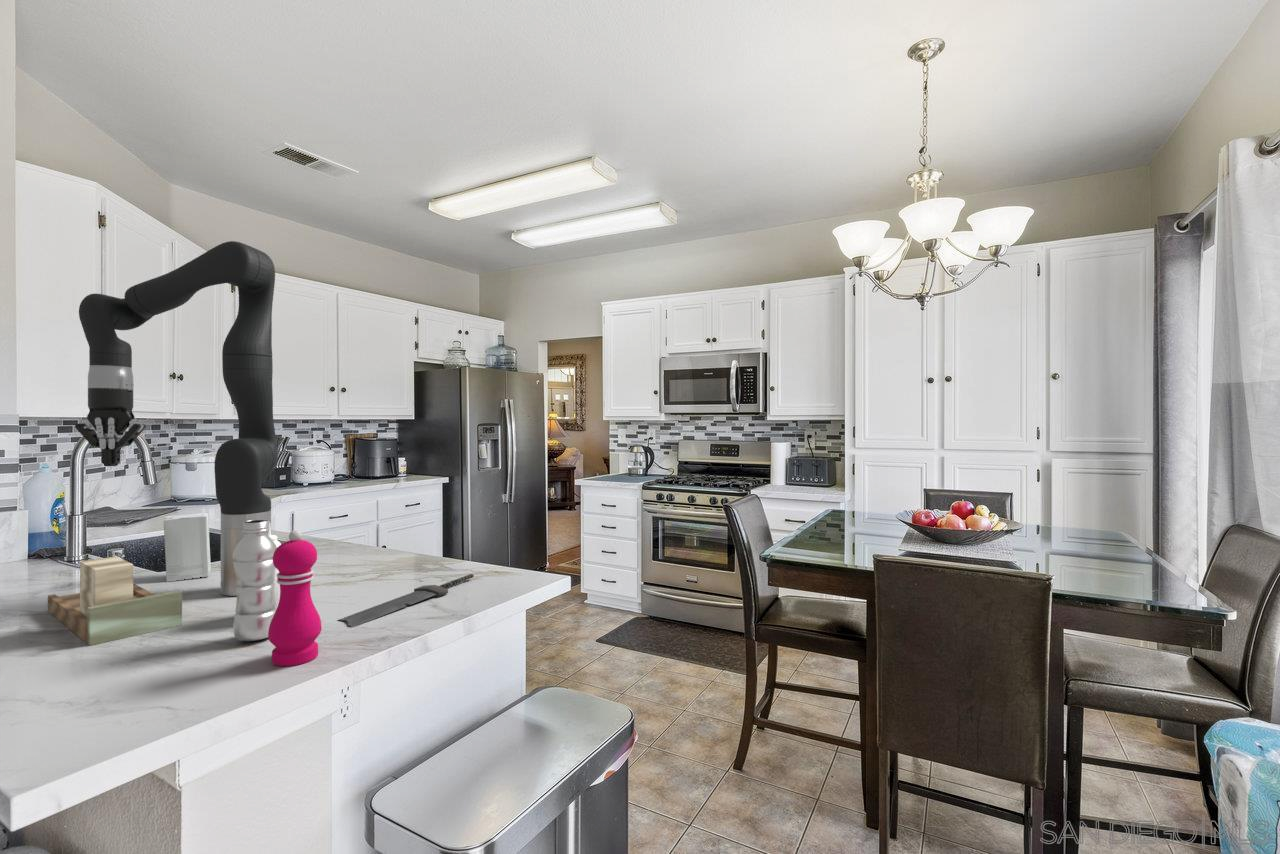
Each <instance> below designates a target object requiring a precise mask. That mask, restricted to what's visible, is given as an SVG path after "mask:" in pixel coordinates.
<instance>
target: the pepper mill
mask: <svg viewBox="0 0 1280 854" xmlns="http://www.w3.org/2000/svg"><path fill="white" fill-rule="evenodd" d="M302 537H303V533H302V532H301V531H300V530H297V529H294V530H292V531H290V532H289V534H288V539H289V540H288V541H285V542H282V544H281V545H280V546H278V547H277V549H276V550H275V552H274V554H273V564H274V566H275V568H276V569H277V570H278V571H279V573H278V574H277V577H278V578H277V581H276V582H277V583H278V584H280V600H279V604H278V607H277V610H276V612H275V614H274V616H273V618H272V620H271V623H270V626H269V632H268V637H267V638H268V640H269V642H270V644H272V645H273V646H274V648H273V649H272V651H271V663H272V665H274V666H278V667H293V666H299V665H303V664H306V663H309V662H311V661H313V660H314V659H316V658H317V657H318V656H319V642H317V641H315V640H317V638H318V637H319V636H320V634H321V632H322V629H323V628H322V621H321V617H320V614H319V612H318V610H317V608H316V606H315V604H314V602H313V600H312V595H311V584H312V583H311V581H312V580H313V579H315V577H314V572H315V571H314V569H312V568H313V567H314V565H315V564H316V562H317V560H318V552H317V548H316V546H315V545H314V543H312V542H310V541H308V540H306V539H305V540H304V539H302Z"/></svg>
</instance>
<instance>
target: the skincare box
mask: <svg viewBox="0 0 1280 854" xmlns="http://www.w3.org/2000/svg"><path fill="white" fill-rule="evenodd" d="M209 524H210V523H209V512H198V513H190V514H189V513H187V514H177V515H176V514H175V515H167V516H166V517H165V518H164V519H163V535H164V536H163V537H164V554H165V573H166V582H167V583H168V581H170V582H175V581H176V582H177V580H178V581H184V579H185V580H192V578H193V579H201V578H200V577H202V578H208V577H209V576H210V574H211V572H212V571H211V570H212V566H211V565H212V564H211V549H210V548H211V547H210V525H209Z"/></svg>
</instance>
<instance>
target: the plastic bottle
mask: <svg viewBox="0 0 1280 854" xmlns="http://www.w3.org/2000/svg"><path fill="white" fill-rule="evenodd" d="M268 531H269V521H268V520H250V521H245V522H243V530H242V533H243V534H244V537H243V538H242V540H241V541H240V542H239V543H238V545H237V546H236V548H235V549H234V552H233V555H232V556H233V561H234V562H233V563H234V569H235V574H236V584H237V596H236V606H235V614H234V618H233V622H232V630H233V631H232V632H233V635H234V637H235V638H236V640H238V641H240V642H253V641H260V640H263V639H267V638H268V632H269V626H270V623H271V620H272V618H273V616H274V614H275V612H276V610H277V608H276V601H275V592H274V581H275V569H276V568H275V566H274V564H273V554H274V552H275V550H276V549H277V546H276V544H275V543H274V542H273V540H272V539H271V538H270V537H269V536H268V535H267V532H268Z"/></svg>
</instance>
